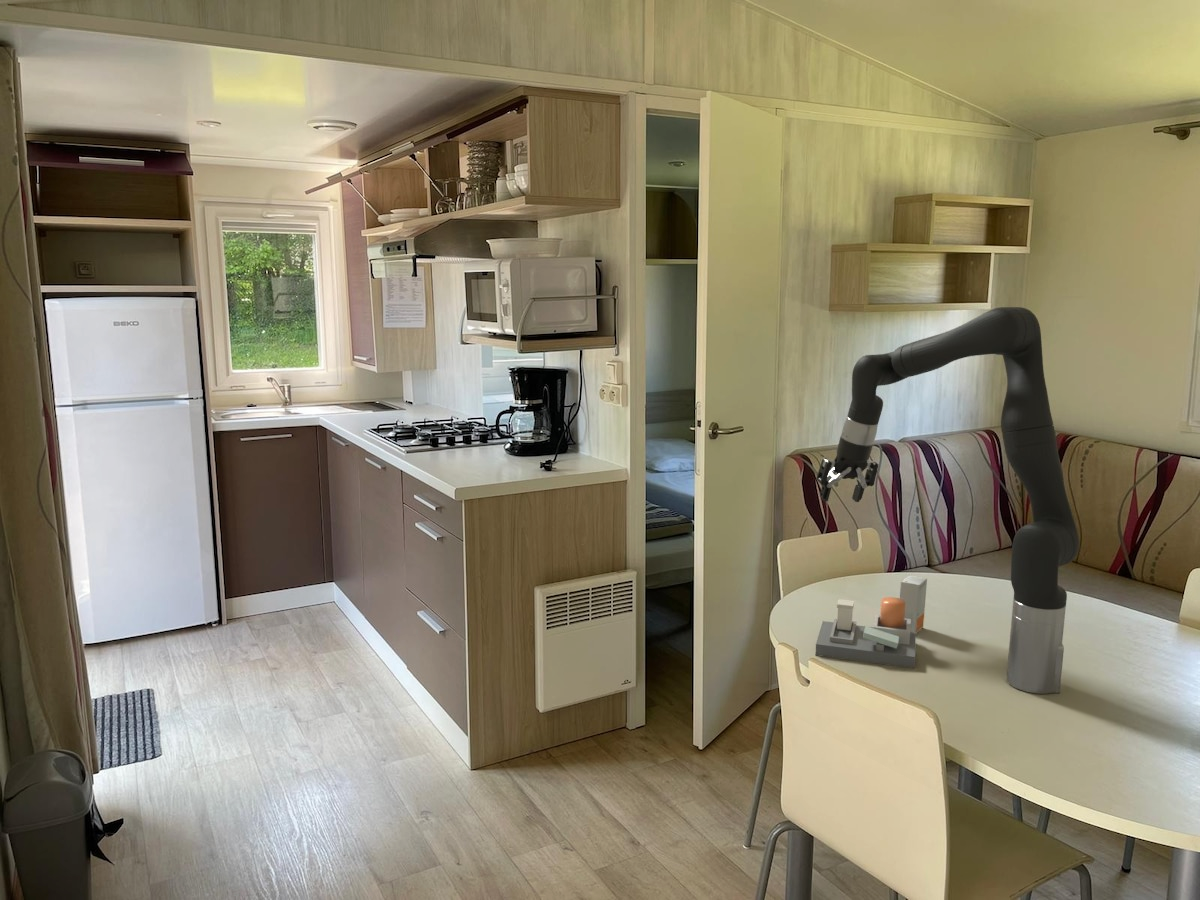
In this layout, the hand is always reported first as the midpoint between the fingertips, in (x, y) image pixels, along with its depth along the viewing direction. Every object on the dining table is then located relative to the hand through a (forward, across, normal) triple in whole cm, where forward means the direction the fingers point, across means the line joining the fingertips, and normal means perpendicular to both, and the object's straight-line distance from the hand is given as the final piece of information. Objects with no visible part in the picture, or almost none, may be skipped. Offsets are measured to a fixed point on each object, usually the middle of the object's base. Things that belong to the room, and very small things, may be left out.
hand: (839, 500), depth 212 cm
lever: (+21, -5, -22) cm, 31 cm away
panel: (+22, -4, -29) cm, 36 cm away
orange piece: (+16, +2, -28) cm, 32 cm away
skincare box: (+22, +13, -22) cm, 34 cm away
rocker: (+16, -4, -32) cm, 36 cm away
